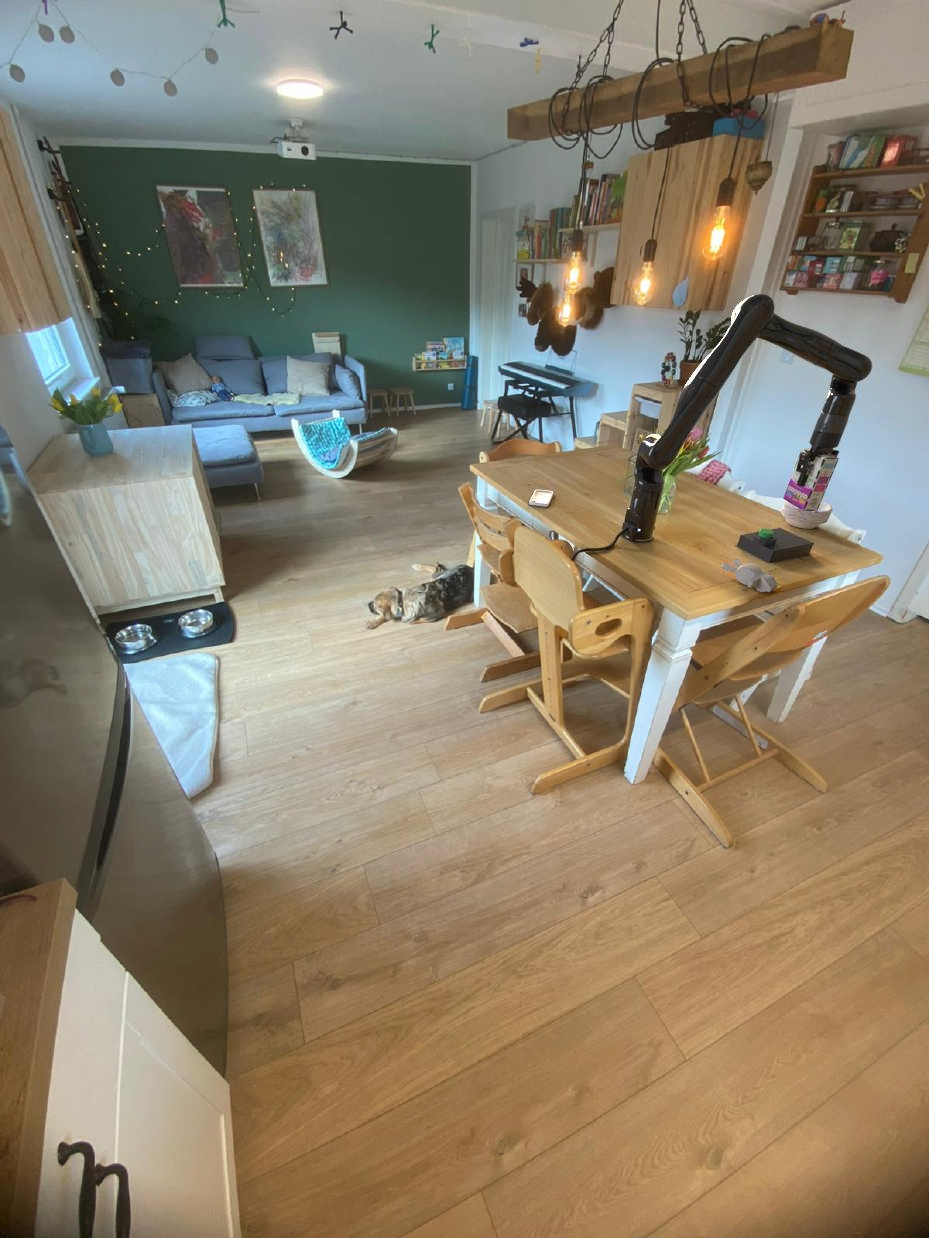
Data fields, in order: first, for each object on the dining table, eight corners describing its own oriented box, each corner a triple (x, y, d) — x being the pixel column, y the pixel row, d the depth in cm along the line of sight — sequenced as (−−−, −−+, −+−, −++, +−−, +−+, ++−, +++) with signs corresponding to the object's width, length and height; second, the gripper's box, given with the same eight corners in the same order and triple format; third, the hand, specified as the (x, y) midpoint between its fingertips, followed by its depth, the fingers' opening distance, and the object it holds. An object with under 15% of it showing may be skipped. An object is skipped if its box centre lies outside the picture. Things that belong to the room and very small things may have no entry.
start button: (765, 540, 167) (767, 534, 166) (755, 535, 170) (757, 529, 169) (774, 538, 169) (776, 532, 167) (764, 533, 172) (766, 527, 171)
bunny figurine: (768, 585, 145) (721, 559, 155) (760, 600, 149) (715, 573, 158) (786, 577, 150) (740, 551, 159) (778, 591, 153) (733, 566, 162)
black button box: (767, 562, 166) (774, 545, 163) (735, 546, 176) (741, 529, 173) (809, 554, 173) (816, 537, 169) (775, 538, 183) (782, 522, 179)
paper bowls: (795, 533, 187) (804, 511, 182) (769, 516, 199) (776, 496, 195) (834, 531, 189) (843, 510, 185) (805, 515, 202) (813, 495, 197)
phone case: (547, 507, 202) (553, 494, 214) (548, 503, 201) (553, 491, 214) (528, 504, 204) (535, 492, 216) (529, 501, 203) (535, 489, 215)
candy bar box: (818, 511, 164) (840, 458, 155) (803, 511, 163) (824, 458, 154) (796, 498, 173) (816, 447, 164) (782, 498, 172) (800, 447, 164)
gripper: (834, 424, 161) (813, 479, 170) (800, 427, 156) (780, 483, 165) (857, 430, 155) (834, 486, 164) (823, 433, 150) (801, 491, 159)
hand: (807, 484), depth 164 cm, fingers closed on candy bar box, 6 cm apart
